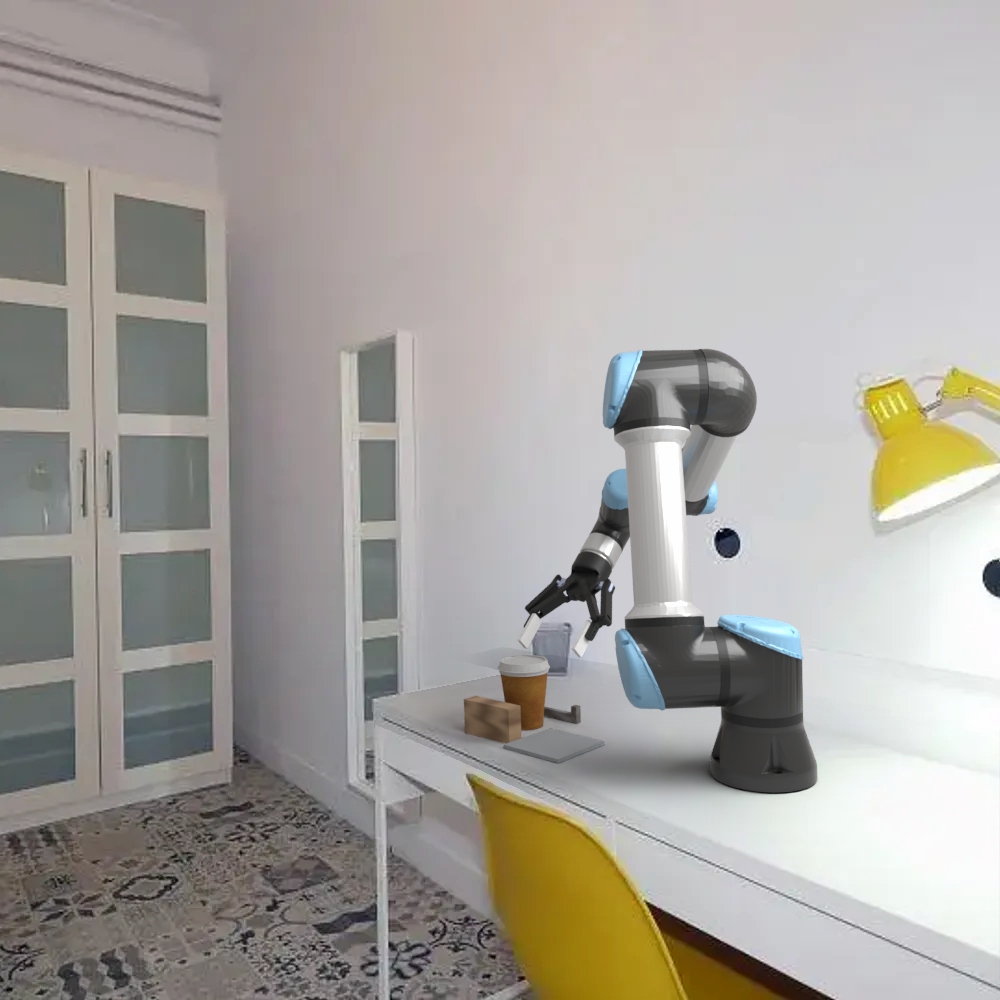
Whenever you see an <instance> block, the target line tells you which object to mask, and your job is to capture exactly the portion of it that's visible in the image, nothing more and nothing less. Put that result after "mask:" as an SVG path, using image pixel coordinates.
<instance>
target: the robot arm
mask: <svg viewBox="0 0 1000 1000" xmlns="http://www.w3.org/2000/svg"><path fill="white" fill-rule="evenodd" d="M607 367H608V368H607V372H606V377H605V384H604V392H603V400H602V401H603V402H602V424H603V426H604V428H607V429H608V430H612V429H613V434H614V436H613V437H614V438H613V439H614V441H615V443H617V444H618V446H620V447H621V448H622V449H623V450H624V460H625V468H619V469H615V470H614V471H612V472H611V473H609V474H608V476H607V477H606V479H605V480H604V484H603V488H602V490H601V500H600V507H599V512H598V516H597V520H596V521H595V524H594V525H593V527H592V529H591V532H590V533H589V535H588V537H586V540H585V542H584V543H583V545H582V547H581V548H580V550H579V552H578V554H577V556H576V558H575V560H574V561H573V562H572V565H571V569H570V570H571V572H570V574H569V575H568V576H567V578H565V577H562V576H561V575H560V574H556V575H555V576H554V578H553V579H552V581H551V582H550V583H549V584H547V586H545V588H543V590H542V591H540V592H539V593H538V594H537V595H536V596H535V597H534V598H533V599H531V601H529V603H527V605H525V607H524V609H525V611H526V612H527V614H529V616H528V617H527V618H526V620H525V623H523V624H524V625H523V629H522V631H521V633H520V634H519V636H518V639H517V642H518V643H519V644H520V645H521V646H522V647H523V648H524V649H529V646H530V645H531V643H532V641H533V640H534V637H535V636H536V634H537V632H538V630H539V629H540V627H541V624H542V623H543V621H542V620H541V619H542V618H544V617H546V616H547V615H548V614H551V613H552V612H553V611H554V610H556V609H558V608H559V607H560V606H562V605H563V604H565V603H570V602H571V601H572V602H577V601H579V602H582V603H584V602H586V606H587V610H588V614H589V619H586V620H585V622H584V624H583V626H582V628H581V630H580V632H579V633H578V635H577V637H576V639H575V641H574V643H573V645H572V647H571V650H572V651H573V652H574V654H575V655H576V657H578V658H582V657H583V656H584V654H585V652H586V650H587V648H588V647H589V644H590V643H591V642H593V640H594V639H595V637H596V635H598V632H599V630H600V629H601V628H603V627H604V626H606V627H610V626H612V624H613V595H614V592H615V589H616V586H615V585H614V584H613V582H612V580H610V576H611V575H612V572H613V569H614V568H615V566H616V564H617V562H618V560H619V559H620V556H621V554H623V550H624V548H625V546H626V544H627V543H628V541H630V556H631V574H632V591H633V593H632V594H633V607H632V608H631V609H630V610H629V612H628V613H627V614H626V615H625V616H624V628H620V629H619V630H617V631H616V632H615V634H614V642H615V656H616V661H617V666H618V671H619V677H620V682H621V684H622V688H623V691H624V693H625V697H626V698H627V700H628V701H629V703H630V705H632V706H633V707H634V708H637V709H639V710H640V709H642V710H660V711H665V710H669V709H670V710H671V709H675V710H676V709H695V708H719V707H720V724H719V727H718V731H717V735H716V737H715V739H714V740H715V741H714V744H713V748H712V750H711V754H710V758H709V759H710V760H709V763H710V764H709V765H710V775H711V776H712V777H713V778H714V779H715V780H717V781H718V782H720V783H722V784H724V785H727V786H729V787H732V788H736V789H739V790H744V791H750V792H758V793H789V792H790V793H791V792H797V791H801V790H806V789H808V788H810V787H812V786H813V785H815V784H816V783H817V781H818V763H817V759H816V757H815V754H814V751H813V749H812V745H811V743H810V739H809V737H808V735H807V734H808V733H807V732H806V727H805V725H804V697H803V696H804V693H803V692H804V691H803V690H804V689H803V687H804V686H803V684H804V683H803V660H804V655H803V650H802V649H803V648H802V641H801V640H802V639H801V634H800V632H799V630H798V628H796V627H795V626H793V624H790V623H789V622H785V621H782V620H777V619H773V618H768V617H767V618H766V617H760V616H755V615H745V614H722V615H720V616H719V618H718V620H717V623H716V624H717V626H706V625H705V616H704V615H705V614H704V612H703V611H701V610H700V609H699V608H698V607H697V606H695V605H694V603H693V591H692V578H691V577H692V575H691V564H690V563H691V562H690V548H689V547H690V546H689V535H688V519H687V516H693V517H697V516H700V515H710V514H713V513H714V512H715V511H716V510H717V506H718V501H719V491H718V485H717V482H716V478H717V477H718V475H719V472H720V470H721V469H722V466H723V464H724V463H725V461H726V458H727V457H728V454H729V452H730V450H731V449H732V446H733V444H734V442H735V440H736V438H737V436H740V435H742V434H743V433H744V432H746V430H747V429H748V427H749V426H750V424H751V422H752V420H753V419H754V416H755V413H756V410H757V404H758V403H757V402H758V399H757V397H758V395H757V391H756V386H755V384H754V381H753V379H752V377H751V375H750V374H749V372H748V370H747V369H746V368H745V366H743V365H742V364H741V363H740V362H739V361H738V360H737V359H735V358H734V356H731V355H730V354H727V353H725V352H723V351H721V350H716V349H714V348H713V349H711V348H699V349H698V348H697V349H667V350H666V349H663V350H661V349H660V350H659V349H657V350H643V349H639V350H638V351H629V352H627V351H626V352H619V353H616V354H615V355H614V356H613V357H612V358H611V359H610V362H609V364H608V366H607ZM683 444H684V445H683ZM682 447H683V448H682ZM564 592H565V593H566V594H565V593H564ZM599 592H600V605H599V606H600V609H599V607H598V604H597V603H598V600H597V597H596V595H597V594H598V593H599Z"/></svg>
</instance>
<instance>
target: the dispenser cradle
mask: <svg viewBox="0 0 1000 1000" xmlns="http://www.w3.org/2000/svg"><path fill="white" fill-rule="evenodd" d="M463 713H464V714H463V715H464V719H463V720H464V733H465V734H468V735H473V736H476V737H479V738H483V739H488V740H491V741H494V742H499V743H502V744H506V743H509V742H512V741H515V740H518V739H521V738H523V737H522V730H521V707H520V705H515V704H511V703H506V702H505V701H500V700H497V699H493V698H488V697H484V696H479V695H474V696H470V697H467V698H463ZM581 716H582V715H581V705H577V704H575V705H574V704H573V705H571V706H570V711H567V710H563V709H559V708H553V707H548V706H545V707H544V717H547V718H550V719H556V720H559V721H564V722H568V723H573V724H577V725H578V724H580V723H582V722H581V721H582V720H581V719H582V717H581Z"/></svg>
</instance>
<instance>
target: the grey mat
mask: <svg viewBox="0 0 1000 1000" xmlns="http://www.w3.org/2000/svg"><path fill="white" fill-rule="evenodd" d="M605 744H606V742H605V740H602V739H599V738H595V737H590V736H585V735H582V734H577V733H573V732H569V731H565V730H560V729H556V728H552V727H549V728H546V729H544V730H541V731H538V732H535V733H532V734H529V735H526V736H524V737H522V738H521V739H518V740H515V741H512V742H509V743H506V744H505V743H503V745H502V746H503V747H502V748H503V749H505V750H509V751H513V752H516V753H520V754H522V755H523V754H524V755H527V756H531V757H535V758H537V759H542V760H545V761H548V762H552V763H556V764H559V763H562V762H564V761H567V760H570V759H572V758H575V757H577V756H580V755H582V754H585V753H587V752H589V751H592V750H595V749H597V748H600V747H602V746H605Z"/></svg>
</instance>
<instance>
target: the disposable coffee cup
mask: <svg viewBox="0 0 1000 1000" xmlns="http://www.w3.org/2000/svg"><path fill="white" fill-rule="evenodd" d="M550 668H551V666H550V664H549V661H548V659H547V657H545V656H543V655H535V654H519V655H517V654H515V655H510V656H506V657H502V658H500V660H499V664H498V666H497V670H498V672H499V674H500V679H501V685H502V686H501V687H502V691H503V697H504V698H503V699H504V702H506V703H511V704H515V705H520V707H521V731H531V730H538V729H540V728H542V727H543V725H544V719H545V718H544V717H545V716H544V707H546V706H545V704H546V694H547V683H548V673H549V669H550Z"/></svg>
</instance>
